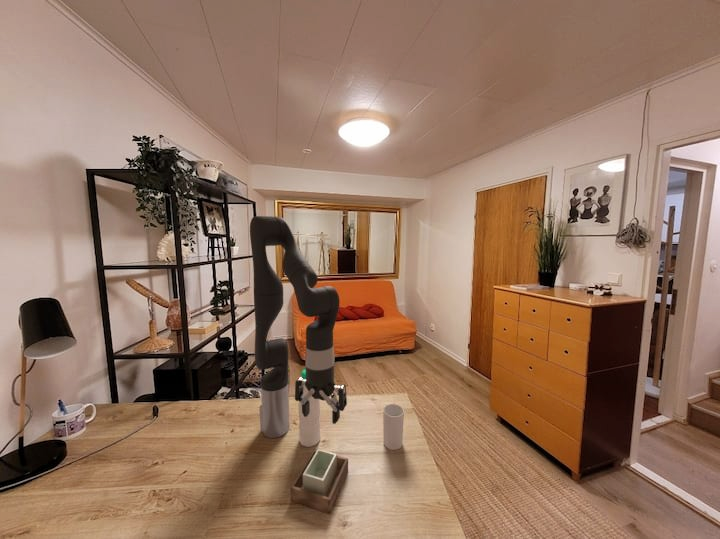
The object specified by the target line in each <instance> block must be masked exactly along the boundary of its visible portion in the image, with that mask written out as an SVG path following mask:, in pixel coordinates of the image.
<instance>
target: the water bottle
mask: <svg viewBox="0 0 720 539" xmlns="http://www.w3.org/2000/svg"><path fill="white" fill-rule="evenodd" d="M301 376H302V377H303V378H304V379H305V380H306V368H305V369H303V370H302V371H301V373H300V377H301ZM308 392H309V391H308V389H307V388H306V386H305V385H304V387H303V395H305V396H306V394H307V393H308ZM308 400H309V403H310V412H309V414H308V416H307V417H304V414H302V404H301V402H300V401H298V418H299V419H298V420H299V424H298V429H299V430H298V431H299V435H298V436H299V438H298V439H299V443H300V444H301V446H303V447H306V448H311V447H314V446H316V445H317V444H318V443H319V442H320V440H321V419H320V417H321V416H320V415H321V403H320V402H321V400H320V399H314V397H312V396H311V397H310V398H309V399H308Z"/></svg>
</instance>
